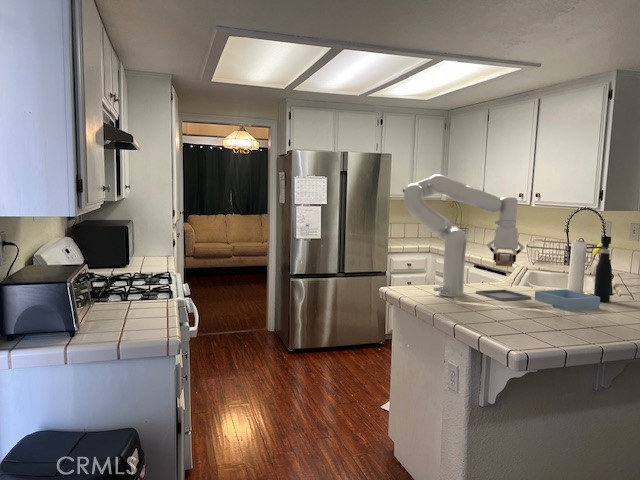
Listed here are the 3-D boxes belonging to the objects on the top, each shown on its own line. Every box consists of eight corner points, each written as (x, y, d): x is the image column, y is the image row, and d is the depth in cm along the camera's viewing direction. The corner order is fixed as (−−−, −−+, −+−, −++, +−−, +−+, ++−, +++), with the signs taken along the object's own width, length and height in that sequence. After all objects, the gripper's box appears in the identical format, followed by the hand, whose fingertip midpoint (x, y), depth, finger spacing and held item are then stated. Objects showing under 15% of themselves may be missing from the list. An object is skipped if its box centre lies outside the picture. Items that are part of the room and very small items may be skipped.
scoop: (495, 265, 218) (496, 254, 217) (496, 262, 229) (497, 252, 228) (512, 266, 215) (513, 255, 215) (512, 263, 226) (512, 253, 226)
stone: (499, 263, 222) (500, 254, 221) (499, 262, 225) (500, 253, 225) (508, 263, 220) (509, 255, 220) (508, 262, 224) (509, 254, 224)
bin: (567, 310, 200) (568, 299, 200) (534, 301, 217) (535, 290, 217) (599, 308, 207) (600, 297, 206) (564, 299, 223) (565, 289, 223)
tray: (500, 303, 212) (501, 298, 212) (475, 295, 228) (475, 290, 228) (531, 301, 218) (531, 296, 218) (504, 294, 234) (504, 289, 234)
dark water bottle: (593, 301, 222) (598, 236, 220) (593, 299, 228) (598, 235, 225) (609, 303, 219) (615, 237, 217) (609, 300, 225) (614, 236, 222)
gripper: (486, 223, 220) (483, 262, 222) (527, 225, 214) (524, 265, 215) (487, 222, 227) (484, 260, 228) (527, 225, 221) (524, 263, 222)
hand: (504, 262), depth 222 cm, fingers closed on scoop, 7 cm apart
